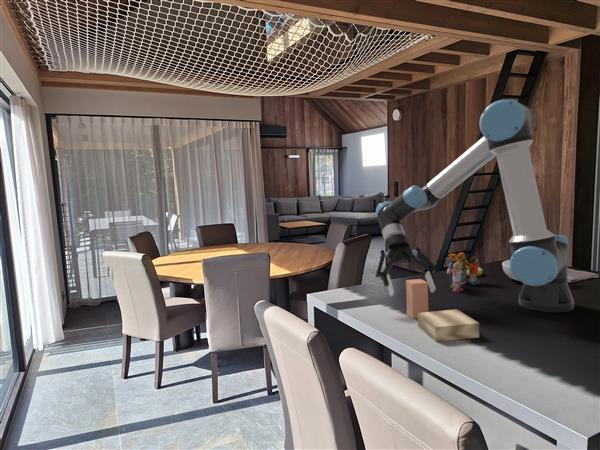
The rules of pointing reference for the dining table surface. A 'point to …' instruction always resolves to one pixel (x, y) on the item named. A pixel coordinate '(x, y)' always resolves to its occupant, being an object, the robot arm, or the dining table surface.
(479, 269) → the decorated donut
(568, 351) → the dining table surface
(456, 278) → the doll family
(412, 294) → the block
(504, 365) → the dining table surface
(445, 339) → the plinth
